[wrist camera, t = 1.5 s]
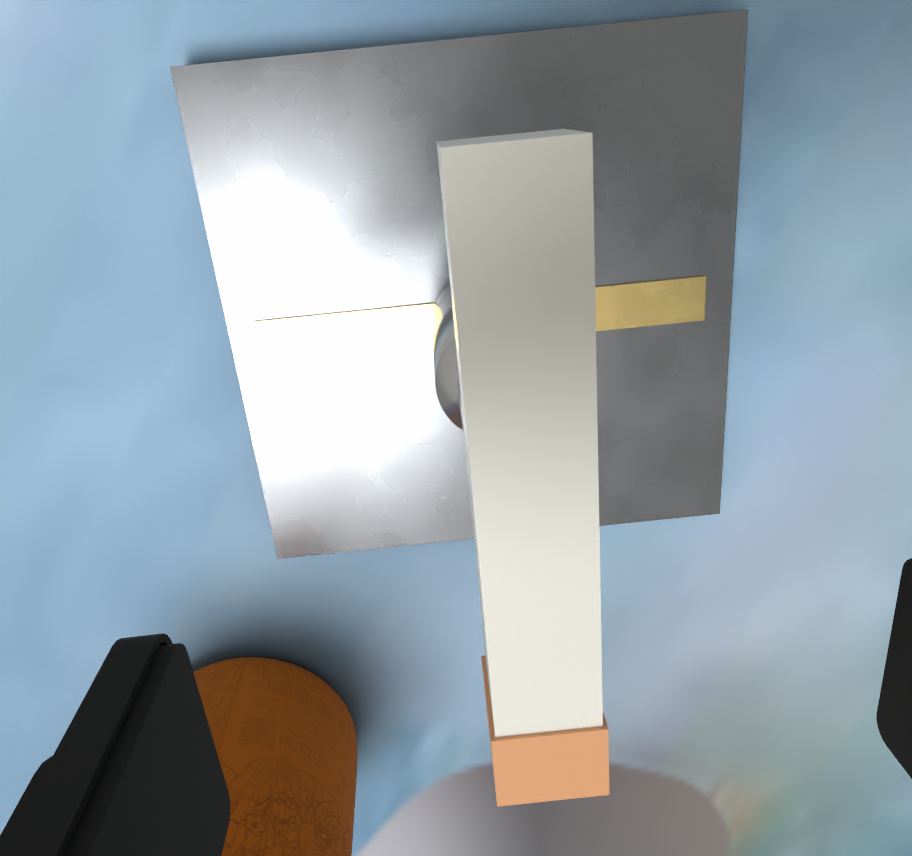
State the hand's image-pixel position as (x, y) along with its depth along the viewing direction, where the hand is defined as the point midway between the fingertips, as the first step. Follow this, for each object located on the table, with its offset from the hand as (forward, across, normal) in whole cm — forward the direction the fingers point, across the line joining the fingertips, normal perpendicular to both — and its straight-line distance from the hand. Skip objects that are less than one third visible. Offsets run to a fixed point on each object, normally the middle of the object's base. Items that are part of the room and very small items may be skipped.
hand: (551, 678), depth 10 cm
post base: (+20, -1, 0) cm, 20 cm away
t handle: (+11, -1, +1) cm, 11 cm away
